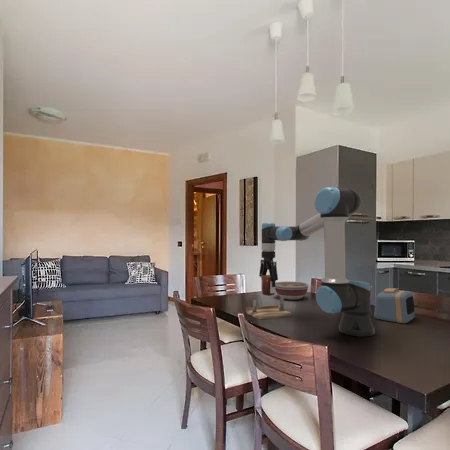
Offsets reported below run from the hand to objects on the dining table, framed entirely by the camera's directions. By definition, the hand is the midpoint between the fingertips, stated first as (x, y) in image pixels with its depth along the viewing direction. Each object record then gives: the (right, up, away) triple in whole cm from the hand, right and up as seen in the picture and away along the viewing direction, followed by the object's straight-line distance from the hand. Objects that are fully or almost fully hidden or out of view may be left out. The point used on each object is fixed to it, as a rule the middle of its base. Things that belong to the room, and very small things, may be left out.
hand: (268, 291), depth 190 cm
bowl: (+21, -14, +44) cm, 51 cm away
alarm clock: (+64, -13, -11) cm, 66 cm away
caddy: (0, -12, 0) cm, 12 cm away
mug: (0, -2, 0) cm, 2 cm away
